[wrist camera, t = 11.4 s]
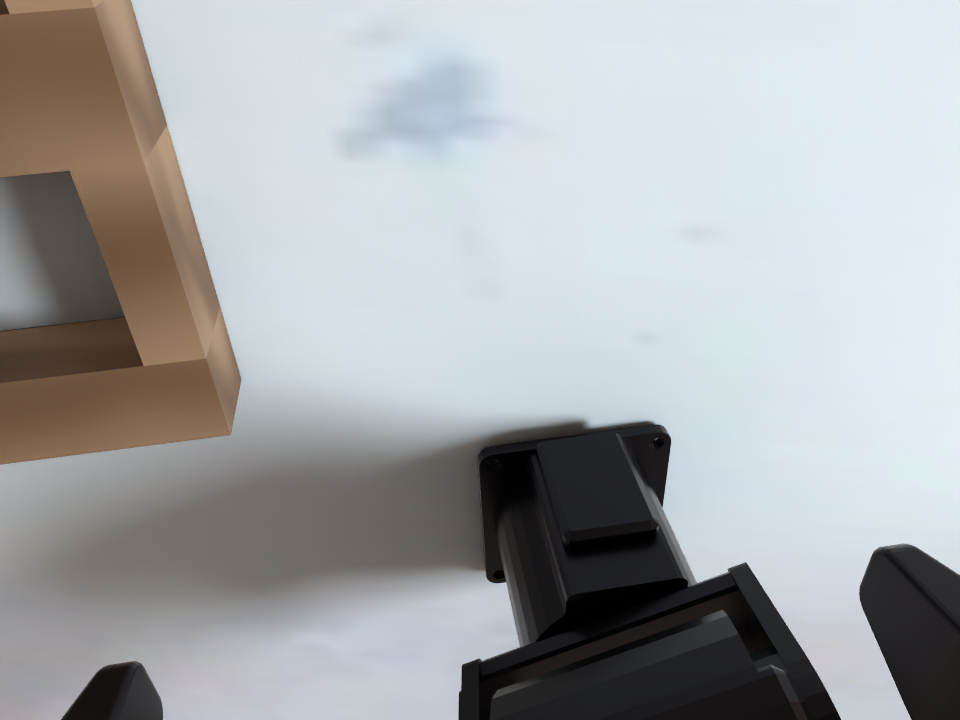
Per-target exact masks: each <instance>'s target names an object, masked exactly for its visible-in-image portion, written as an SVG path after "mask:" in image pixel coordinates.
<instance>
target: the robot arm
mask: <svg viewBox="0 0 960 720" xmlns="http://www.w3.org/2000/svg"><path fill="white" fill-rule="evenodd" d="M656 438H658V439H657V440H656V441H653V442H651V441H652V440H653V439H656ZM670 446H671V437H670V436H669V434H668V432H667V430H666V429H665V427H664V426H661V425H648V426H640V427H633V428H625V429H618V430H611V431H603V432H596V433H588V434H581V435H573V436H566V437H558V438H551V439H543V440H536V441H528V442H521V443H514V444H506V445H499V446H491V447H488V448H485V449H484V450H482V451H481V452H480V454H479V455H478V459H477V461H478V476H479V490H480V505H481V519H482V534H483V549H484V563H485V571H486V577H487V579H488V580H489V581H490V582H493V583H504V582H506V583H507V587H508V592H509V597H510V601H511V606H512V611H513V616H514V620H515V625H516V630H517V635H518V639H519V644H520V648H517V649H514V650H511V651H509V652H506V653H503V654H500V655H497V656H495V657H492V658H489V659H486V660H484V661H481V659H477V660H474V661H471V662H469V663H466V664H463V665H462V686H461V691H460V692H459V720H841V718H840V716H839V714H838V712H837V710H836V708H835V706H834V704H833V702H832V700H831V698H830V696H829V694H828V693H827V691H826V689H825V687H824V685H823V683H822V682H821V680H820V678H819V676H818V674H817V673H816V671H815V669H814V668H813V666H812V664H811V663H810V661H809V659H808V658H807V656H806V655H805V653H804V651H803V650H802V648H801V647H800V645H799V644H798V642H797V641H796V639H795V637H794V636H793V634H792V633H791V631H790V630H789V628H788V627H787V625H786V623H785V622H784V620H783V619H782V617H781V616H780V614H779V613H778V611H777V610H776V608H775V606H774V605H773V603H772V602H771V600H770V599H769V597H768V596H767V594H766V592H765V591H764V589H763V588H762V586H761V585H760V583H759V582H758V580H757V578H756V577H755V575H754V574H753V572H752V571H751V569H750V568H749V566H748V564H747V563H746V562H745V563H743V564H740V565H737V566H734V567H732V568H729V569H728V572H727V573H725V574H722V575H719V576H716V577H714V578H711V579H708V580H705V581H702V582H700V583H697V582H696V580H695V578H694V576H693V574H692V571H691V569H690V567H689V565H688V563H687V561H686V558H685V556H684V554H683V552H682V550H681V548H680V545H679V543H678V541H677V539H676V537H675V535H674V532H673V530H672V528H671V526H670V524H669V522H668V520H667V517H666V515H665V513H664V511H663V509H662V507H663V499H664V492H665V484H666V477H667V469H668V462H669V454H670ZM493 460H498V461H497V462H495V463H489V462H490V461H493ZM859 595H860V601H861V605H862V608H863V610H864V613H865V615H866V617H867V619H868V622H869V624H870V626H871V629H872V631H873V633H874V635H875V638H876V640H877V642H878V645H879V647H880V649H881V652H882V654H883V656H884V658H885V661H886V663H887V665H888V668H889V670H890V672H891V675H892V677H893V679H894V681H895V684H896V686H897V688H898V691H899V693H900V695H901V697H902V700H903V702H904V704H905V706H906V709H907V711H908V713H909V715H910V717H911V719H912V720H960V575H959V574H957V573H956V572H954V571H953V570H951V569H950V568H948V567H947V566H945V565H943V564H942V563H940V562H939V561H937V560H936V559H934V558H933V557H931V556H929V555H928V554H926V553H925V552H923V551H922V550H920V549H918V548H917V547H915V546H912V545H909V544H898V545H891V546H885V547H880V548H878V549H876V550H875V551H874V552H873V554H872V556H871V559H870V562H869V564H868V567H867V569H866V572H865V575H864V577H863V580H862V582H861V585H860V592H859ZM61 720H163V708H162V702H161V699H160V696H159V695H158V693H157V691H156V689H155V687H154V685H153V683H152V681H151V680H150V678H149V676H148V674H147V672H146V670H145V668H144V667H143V665H142V664H140V663H139V662H137V661H133V662H126V663H119V664H113V665H108V666H105V667H103V668H102V669H100V670H99V671H98V672H97V673H96V674H95V675H94V676H93V678H92V679H91V680H90V682H89V683H88V684H87V686H86V687H85V688H84V690H83V691H82V692H81V694H80V695H79V696H78V698H77V699H76V700H75V702H74V703H73V704H72V706H71V707H70V708H69V710H68V711H67V712H66V714H65V715H64V716H63V718H62V719H61Z"/></svg>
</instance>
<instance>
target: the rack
mask: <svg viewBox="0 0 960 720" xmlns="http://www.w3.org/2000/svg"><path fill="white" fill-rule="evenodd" d="M61 171H70V174H71V176H72V179H73V182H74V184H75V187H76V189H77V192H78V195H79V197H80V200H81V203H82V205H83V208H84V210H85V213H86V216H87V218H88V221H89V224H90V226H91V229H92V231H93V234H94V237H95V239H96V242H97V245H98V247H99V250H100V252H101V255H102V258H103V260H104V263H105V266H106V268H107V271H108V273H109V276H110V279H111V281H112V284H113V287H114V289H115V292H116V294H117V297H118V300H119V302H120V305H121V308H122V310H123V313H124V315H125V317H123V318H114V319H106V320H97V321H88V322H79V323H71V324H62V325H53V326H44V327H35V328H27V329H18V330H9V331H0V465H1V464H9V463H16V462H24V461H32V460H40V459H47V458H55V457H63V456H71V455H78V454H86V453H94V452H102V451H110V450H117V449H125V448H133V447H141V446H148V445H156V444H164V443H172V442H179V441H187V440H195V439H203V438H210V437H218V436H226V435H231V430H232V425H233V420H234V415H235V409H236V404H237V399H238V394H239V388H240V383H241V377H240V373H239V370H238V367H237V363H236V360H235V356H234V353H233V349H232V346H231V343H230V339H229V336H228V332H227V329H226V325H225V322H224V319H223V315H222V312H221V308H220V305H219V301H218V298H217V295H216V291H215V288H214V284H213V281H212V277H211V274H210V271H209V267H208V264H207V260H206V257H205V253H204V250H203V247H202V243H201V240H200V236H199V233H198V229H197V226H196V223H195V219H194V216H193V212H192V209H191V205H190V202H189V199H188V195H187V192H186V188H185V185H184V181H183V178H182V175H181V171H180V168H179V164H178V161H177V157H176V154H175V151H174V147H173V144H172V140H171V137H170V133H169V130H168V127H167V123H166V120H165V116H164V113H163V109H162V106H161V103H160V99H159V96H158V92H157V89H156V85H155V82H154V79H153V75H152V72H151V68H150V65H149V61H148V58H147V55H146V51H145V48H144V44H143V41H142V37H141V34H140V31H139V27H138V24H137V20H136V17H135V13H134V10H133V7H132V3H131V0H0V177H9V176H19V175H30V174H40V173H50V172H61Z"/></svg>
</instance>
